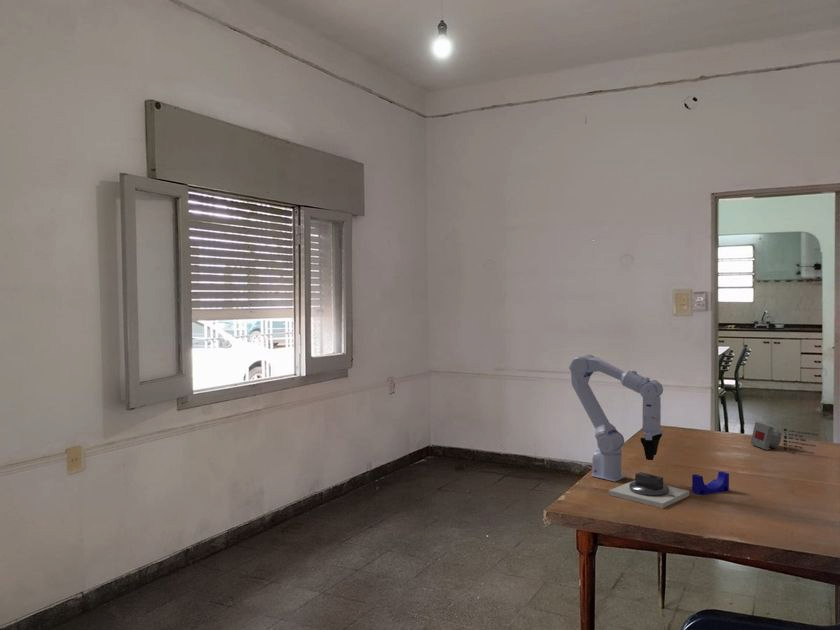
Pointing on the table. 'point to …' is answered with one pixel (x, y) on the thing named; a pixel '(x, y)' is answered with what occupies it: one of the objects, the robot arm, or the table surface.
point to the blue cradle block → (710, 484)
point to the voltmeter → (771, 437)
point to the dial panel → (649, 496)
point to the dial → (648, 485)
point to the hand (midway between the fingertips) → (651, 457)
